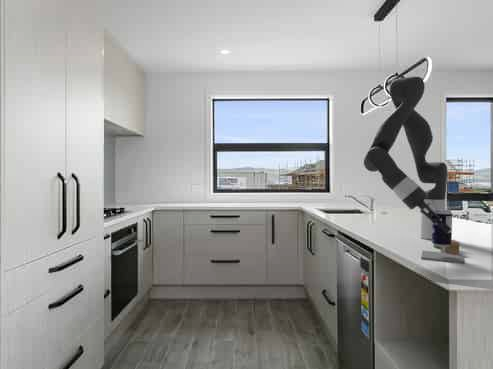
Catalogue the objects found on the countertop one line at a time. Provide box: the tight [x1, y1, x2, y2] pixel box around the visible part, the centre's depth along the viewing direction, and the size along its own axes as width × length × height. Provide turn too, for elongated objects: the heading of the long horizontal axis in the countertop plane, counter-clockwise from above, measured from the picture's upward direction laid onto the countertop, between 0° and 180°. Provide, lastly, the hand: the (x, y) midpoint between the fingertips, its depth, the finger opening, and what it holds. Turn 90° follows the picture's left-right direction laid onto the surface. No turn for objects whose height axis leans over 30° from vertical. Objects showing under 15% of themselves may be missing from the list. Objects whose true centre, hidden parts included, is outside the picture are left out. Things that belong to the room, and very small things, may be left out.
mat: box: [420, 250, 465, 264], centre depth 118 cm, size 12×12×1 cm
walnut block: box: [440, 239, 460, 254], centre depth 125 cm, size 4×4×4 cm
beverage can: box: [431, 209, 453, 247], centre depth 118 cm, size 6×6×12 cm
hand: (448, 229), depth 117 cm, fingers closed on beverage can, 5 cm apart
